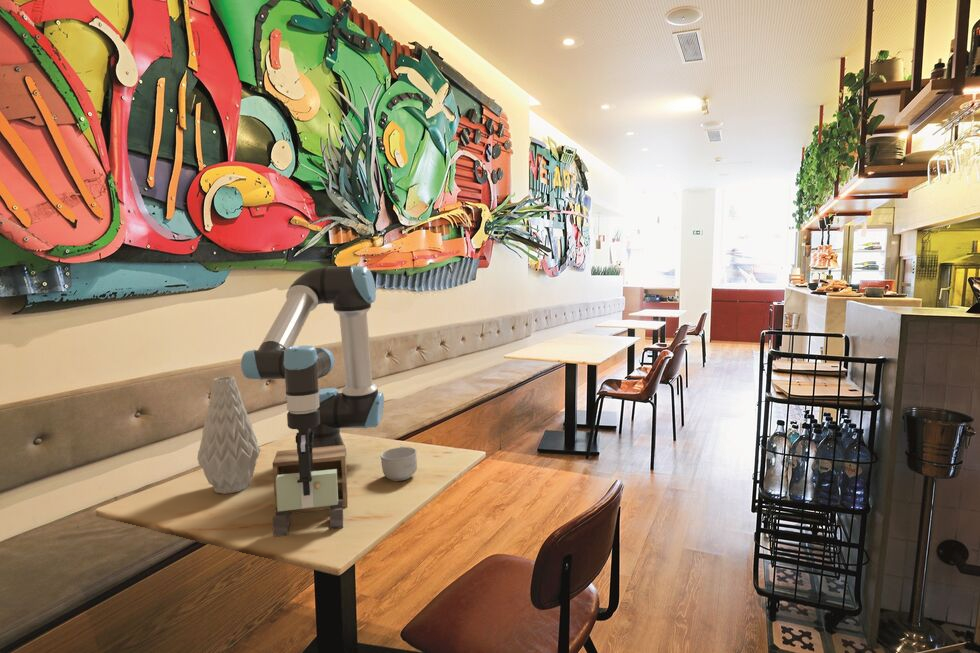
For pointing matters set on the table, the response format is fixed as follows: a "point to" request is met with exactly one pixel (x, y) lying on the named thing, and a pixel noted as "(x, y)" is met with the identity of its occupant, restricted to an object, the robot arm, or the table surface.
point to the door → (322, 490)
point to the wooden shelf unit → (322, 461)
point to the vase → (227, 439)
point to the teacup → (399, 463)
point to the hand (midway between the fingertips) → (308, 503)
